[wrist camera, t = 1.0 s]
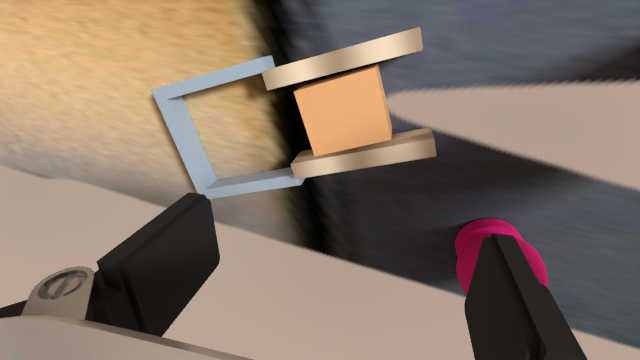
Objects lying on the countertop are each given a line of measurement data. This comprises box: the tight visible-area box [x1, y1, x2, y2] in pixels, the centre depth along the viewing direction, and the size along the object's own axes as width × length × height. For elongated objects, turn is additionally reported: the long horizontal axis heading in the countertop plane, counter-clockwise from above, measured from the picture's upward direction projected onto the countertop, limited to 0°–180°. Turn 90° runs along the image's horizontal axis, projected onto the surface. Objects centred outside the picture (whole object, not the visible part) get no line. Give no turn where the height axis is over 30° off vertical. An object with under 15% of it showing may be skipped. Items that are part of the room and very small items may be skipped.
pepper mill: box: [455, 218, 548, 295], centre depth 24 cm, size 7×7×20 cm
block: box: [294, 63, 392, 156], centre depth 28 cm, size 7×6×4 cm
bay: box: [151, 56, 305, 199], centre depth 32 cm, size 12×12×2 cm
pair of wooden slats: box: [262, 27, 437, 179], centre depth 28 cm, size 13×10×4 cm
